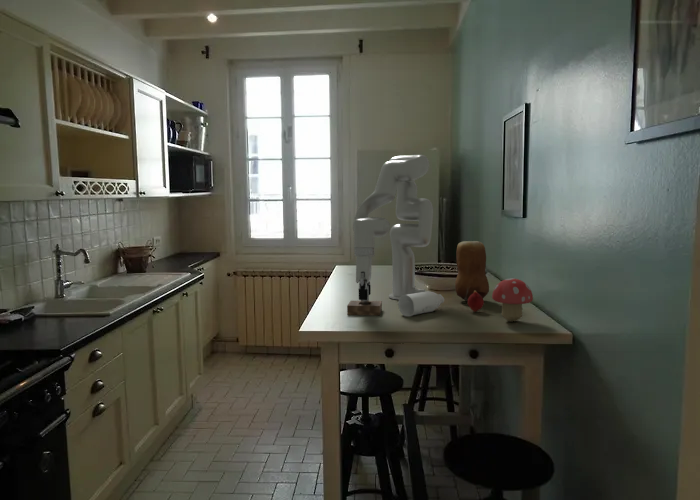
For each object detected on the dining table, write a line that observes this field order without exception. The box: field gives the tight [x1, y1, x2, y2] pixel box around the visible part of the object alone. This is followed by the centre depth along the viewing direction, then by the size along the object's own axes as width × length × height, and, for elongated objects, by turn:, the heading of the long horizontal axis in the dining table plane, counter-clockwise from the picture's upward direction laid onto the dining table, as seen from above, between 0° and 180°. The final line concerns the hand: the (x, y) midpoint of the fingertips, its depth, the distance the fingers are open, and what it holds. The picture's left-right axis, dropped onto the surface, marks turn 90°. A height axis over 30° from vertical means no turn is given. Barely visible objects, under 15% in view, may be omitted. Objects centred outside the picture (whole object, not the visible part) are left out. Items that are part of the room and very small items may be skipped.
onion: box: [467, 291, 485, 313], centre depth 194 cm, size 6×6×8 cm
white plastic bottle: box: [397, 290, 445, 318], centre depth 194 cm, size 8×19×8 cm, turn 127°
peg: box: [360, 286, 370, 305], centre depth 195 cm, size 3×3×10 cm
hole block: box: [346, 300, 383, 317], centre depth 196 cm, size 12×9×4 cm
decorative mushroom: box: [491, 277, 534, 323], centre depth 178 cm, size 13×13×15 cm
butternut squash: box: [454, 240, 490, 302], centre depth 212 cm, size 14×13×25 cm
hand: (364, 297), depth 195 cm, fingers open, 9 cm apart
